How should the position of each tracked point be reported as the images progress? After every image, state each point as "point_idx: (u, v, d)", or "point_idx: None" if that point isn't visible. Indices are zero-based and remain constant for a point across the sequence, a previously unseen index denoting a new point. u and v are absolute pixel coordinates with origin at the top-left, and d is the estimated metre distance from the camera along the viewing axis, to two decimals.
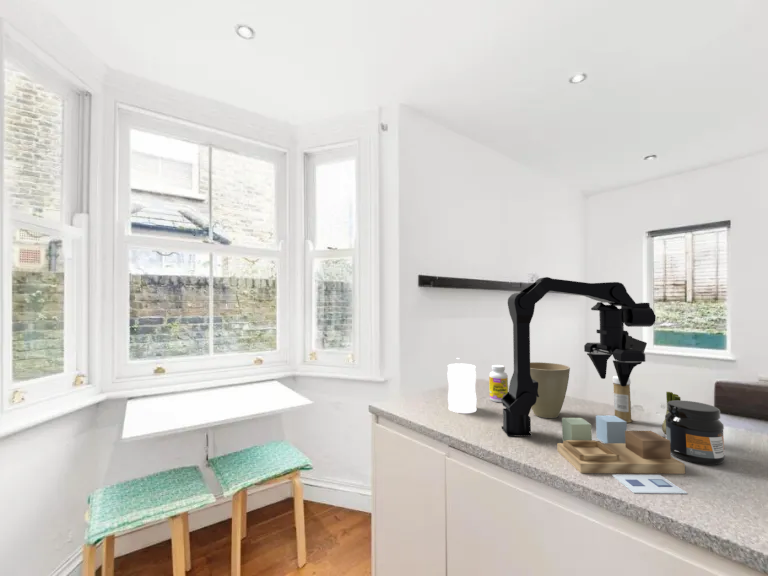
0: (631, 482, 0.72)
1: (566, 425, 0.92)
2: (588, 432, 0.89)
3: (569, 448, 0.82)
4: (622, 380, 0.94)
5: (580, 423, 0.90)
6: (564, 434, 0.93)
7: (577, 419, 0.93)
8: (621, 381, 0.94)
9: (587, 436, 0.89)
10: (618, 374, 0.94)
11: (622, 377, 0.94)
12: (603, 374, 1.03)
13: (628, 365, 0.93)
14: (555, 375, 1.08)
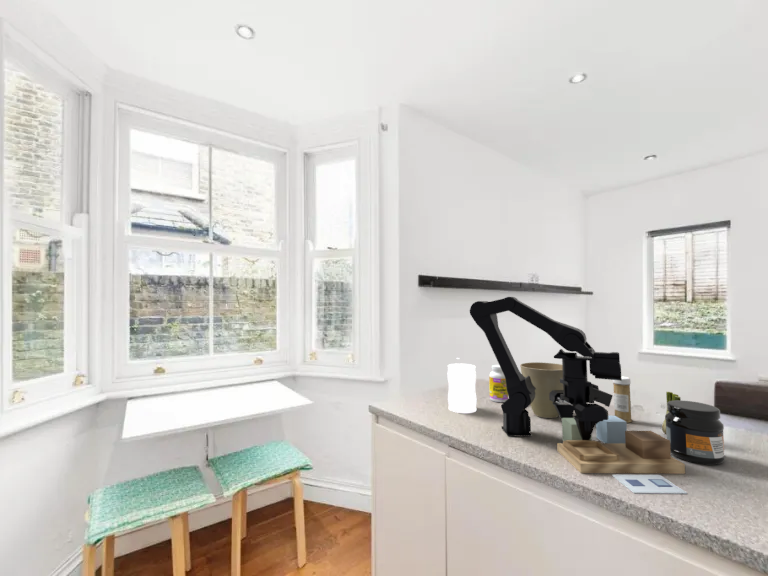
0: (631, 482, 0.72)
1: (566, 425, 0.92)
2: None
3: (569, 448, 0.82)
4: (584, 437, 0.86)
5: None
6: (564, 434, 0.93)
7: None
8: (583, 438, 0.86)
9: None
10: (580, 431, 0.86)
11: (584, 434, 0.86)
12: None
13: (590, 421, 0.86)
14: (555, 375, 1.08)
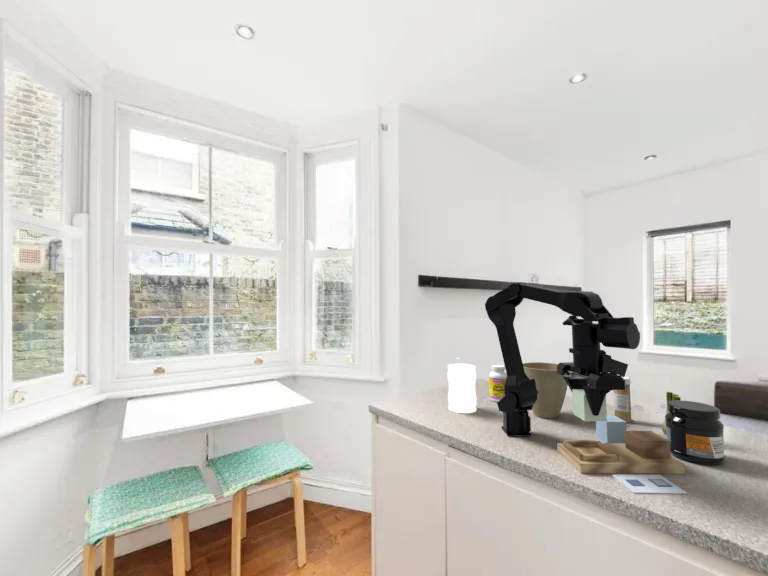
0: (631, 482, 0.72)
1: (577, 397, 0.83)
2: None
3: (569, 448, 0.82)
4: (594, 408, 0.79)
5: None
6: (574, 406, 0.84)
7: None
8: (593, 409, 0.79)
9: (601, 407, 0.80)
10: (589, 401, 0.79)
11: (594, 405, 0.79)
12: None
13: (600, 391, 0.79)
14: (555, 375, 1.08)
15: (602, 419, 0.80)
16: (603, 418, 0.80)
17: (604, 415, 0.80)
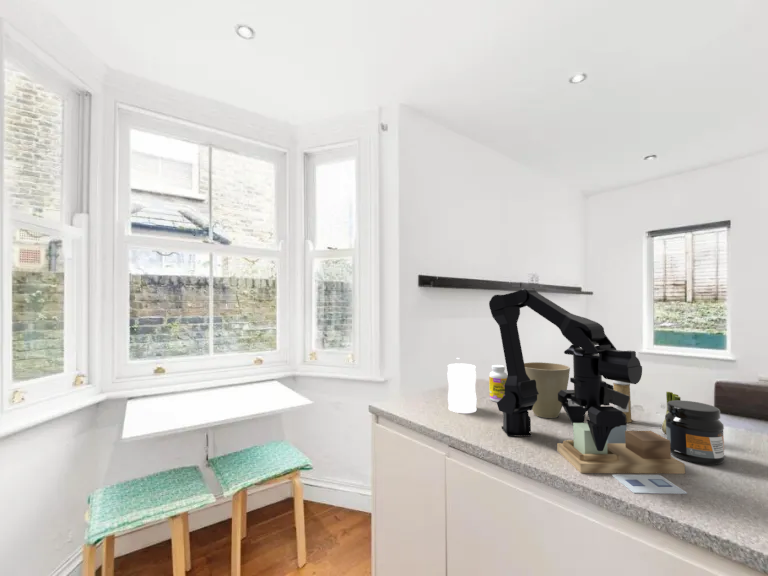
0: (631, 482, 0.72)
1: (578, 432, 0.82)
2: None
3: (569, 448, 0.82)
4: (598, 444, 0.77)
5: None
6: (575, 441, 0.83)
7: None
8: (597, 445, 0.77)
9: None
10: (593, 437, 0.77)
11: (598, 440, 0.77)
12: None
13: (605, 426, 0.76)
14: (555, 375, 1.08)
15: None
16: None
17: (605, 451, 0.79)
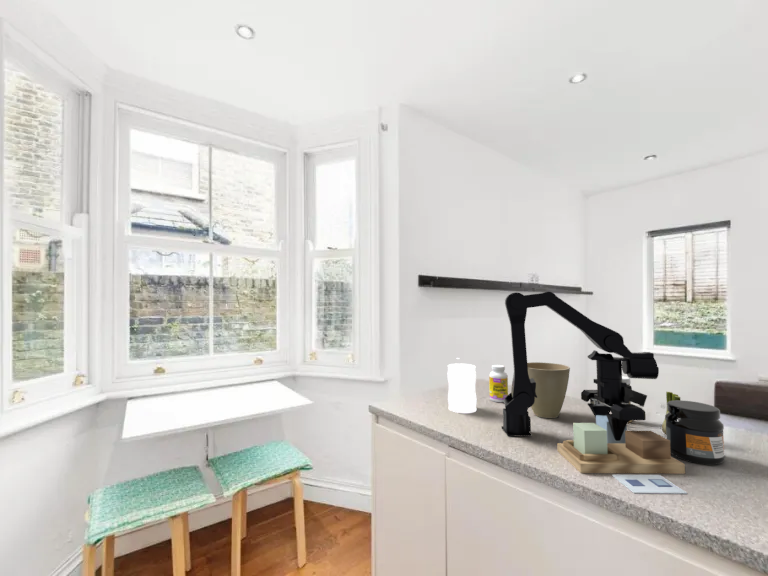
0: (631, 482, 0.72)
1: (578, 432, 0.82)
2: (603, 439, 0.79)
3: (569, 448, 0.82)
4: (616, 434, 0.90)
5: (594, 429, 0.80)
6: (575, 441, 0.83)
7: (590, 425, 0.83)
8: (615, 435, 0.90)
9: (602, 444, 0.79)
10: (612, 428, 0.90)
11: (616, 431, 0.90)
12: None
13: (622, 419, 0.89)
14: (555, 375, 1.08)
15: None
16: None
17: (605, 451, 0.79)
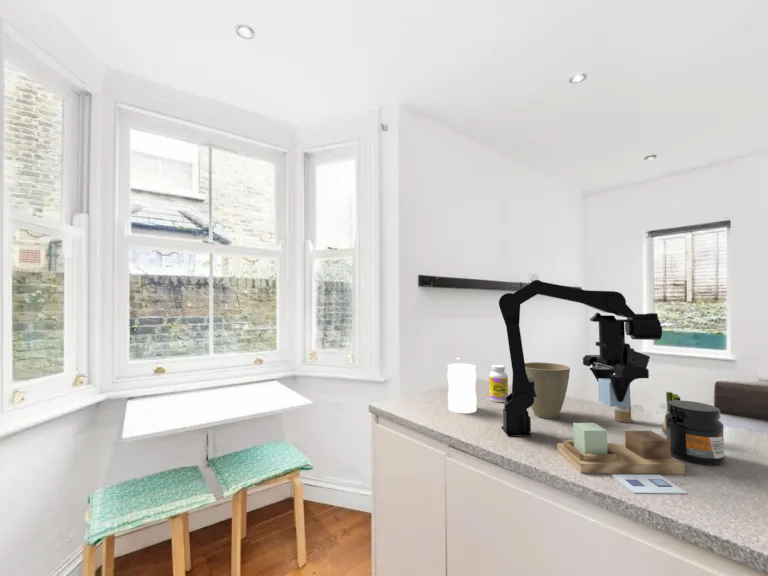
0: (631, 482, 0.72)
1: (578, 432, 0.82)
2: (603, 439, 0.79)
3: (569, 448, 0.82)
4: (619, 395, 0.89)
5: (594, 429, 0.80)
6: (575, 441, 0.83)
7: (590, 425, 0.83)
8: (618, 396, 0.89)
9: (602, 444, 0.79)
10: (615, 389, 0.89)
11: (619, 392, 0.89)
12: None
13: (625, 379, 0.88)
14: (555, 375, 1.08)
15: None
16: None
17: (605, 451, 0.79)
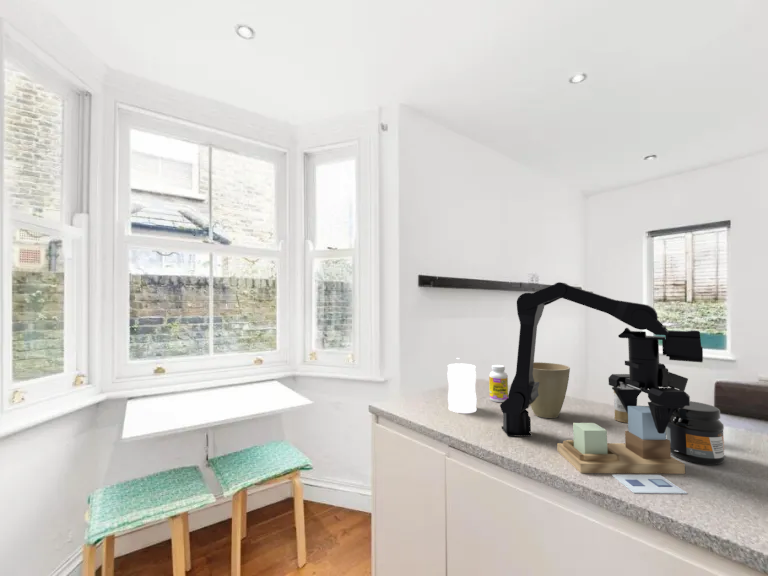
0: (631, 482, 0.72)
1: (578, 432, 0.82)
2: (603, 439, 0.79)
3: (569, 448, 0.82)
4: (660, 426, 0.76)
5: (594, 429, 0.80)
6: (575, 441, 0.83)
7: (590, 425, 0.83)
8: (658, 427, 0.76)
9: (602, 444, 0.79)
10: (655, 419, 0.76)
11: (660, 423, 0.76)
12: None
13: (667, 408, 0.76)
14: (555, 375, 1.08)
15: None
16: None
17: (605, 451, 0.79)
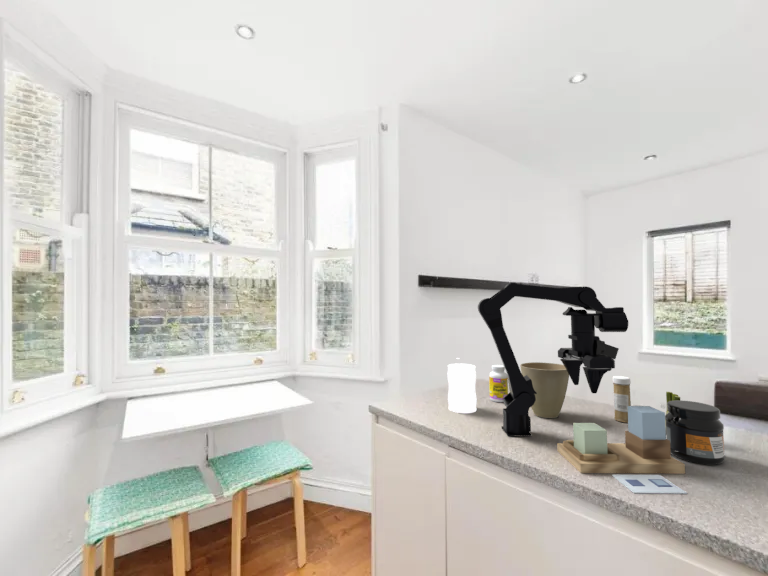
0: (631, 482, 0.72)
1: (578, 432, 0.82)
2: (603, 439, 0.79)
3: (569, 448, 0.82)
4: (592, 387, 0.92)
5: (594, 429, 0.80)
6: (575, 441, 0.83)
7: (590, 425, 0.83)
8: (592, 388, 0.92)
9: (602, 444, 0.79)
10: (588, 381, 0.92)
11: (592, 384, 0.91)
12: (576, 380, 1.01)
13: (598, 372, 0.91)
14: (555, 375, 1.08)
15: None
16: None
17: (605, 451, 0.79)
